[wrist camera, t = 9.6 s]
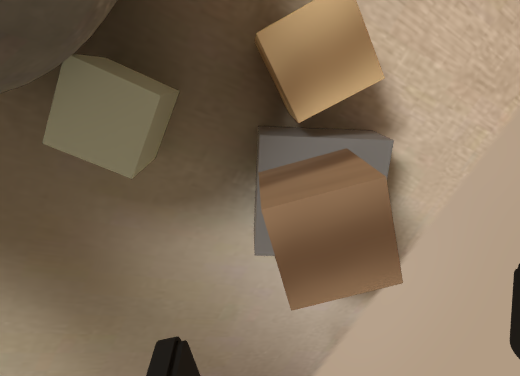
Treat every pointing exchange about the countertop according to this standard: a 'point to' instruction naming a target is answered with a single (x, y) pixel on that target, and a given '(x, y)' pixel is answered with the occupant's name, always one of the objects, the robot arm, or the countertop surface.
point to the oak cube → (319, 56)
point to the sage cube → (108, 114)
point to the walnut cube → (330, 228)
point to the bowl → (43, 35)
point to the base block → (308, 146)
